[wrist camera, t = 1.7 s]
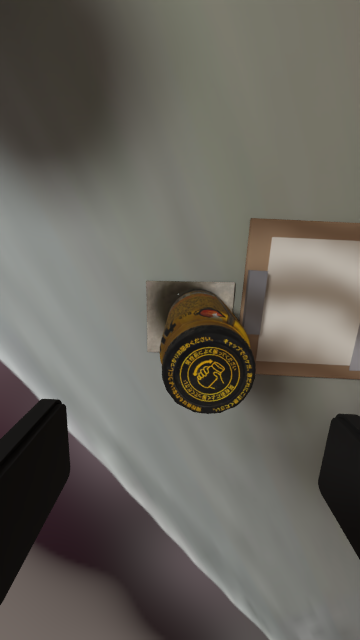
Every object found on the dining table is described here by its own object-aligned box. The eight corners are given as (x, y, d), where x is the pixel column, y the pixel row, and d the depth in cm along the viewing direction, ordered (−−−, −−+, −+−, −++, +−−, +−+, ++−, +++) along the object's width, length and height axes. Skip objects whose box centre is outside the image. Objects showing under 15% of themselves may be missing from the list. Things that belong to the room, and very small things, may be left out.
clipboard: (250, 218, 23) (254, 216, 21) (496, 230, 22) (513, 228, 21) (233, 371, 26) (236, 376, 25) (444, 381, 26) (456, 387, 25)
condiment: (229, 352, 26) (265, 431, 14) (147, 351, 26) (117, 427, 14) (234, 282, 24) (280, 306, 12) (146, 280, 24) (111, 303, 13)
